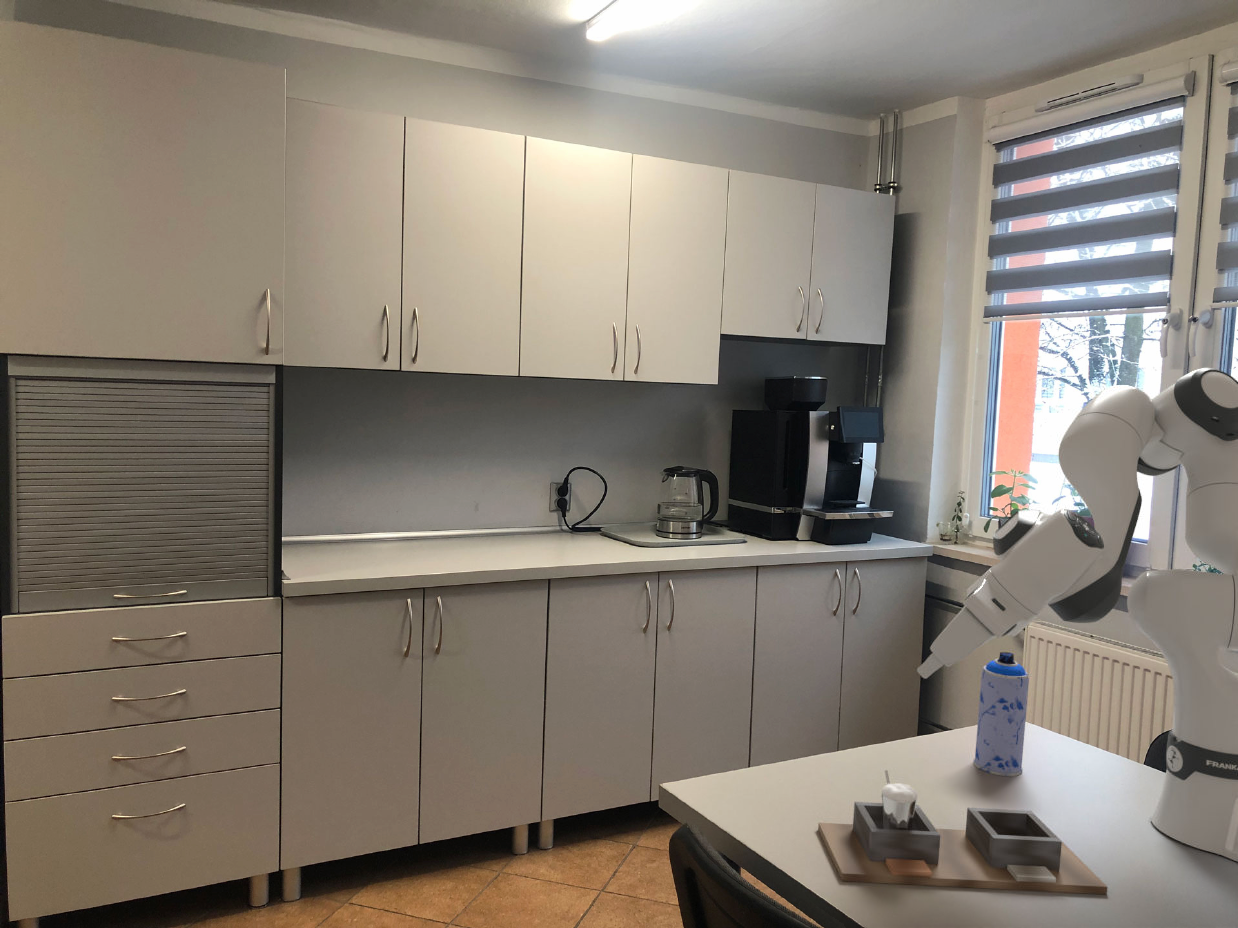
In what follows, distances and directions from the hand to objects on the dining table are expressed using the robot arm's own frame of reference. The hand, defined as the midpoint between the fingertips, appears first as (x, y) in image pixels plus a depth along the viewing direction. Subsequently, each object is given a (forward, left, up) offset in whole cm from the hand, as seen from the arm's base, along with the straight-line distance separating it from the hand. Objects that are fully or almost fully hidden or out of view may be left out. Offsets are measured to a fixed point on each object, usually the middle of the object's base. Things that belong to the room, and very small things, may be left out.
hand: (928, 668), depth 133 cm
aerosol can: (-21, -23, -23) cm, 39 cm away
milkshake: (+7, +11, -22) cm, 26 cm away
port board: (-1, +11, -23) cm, 26 cm away
